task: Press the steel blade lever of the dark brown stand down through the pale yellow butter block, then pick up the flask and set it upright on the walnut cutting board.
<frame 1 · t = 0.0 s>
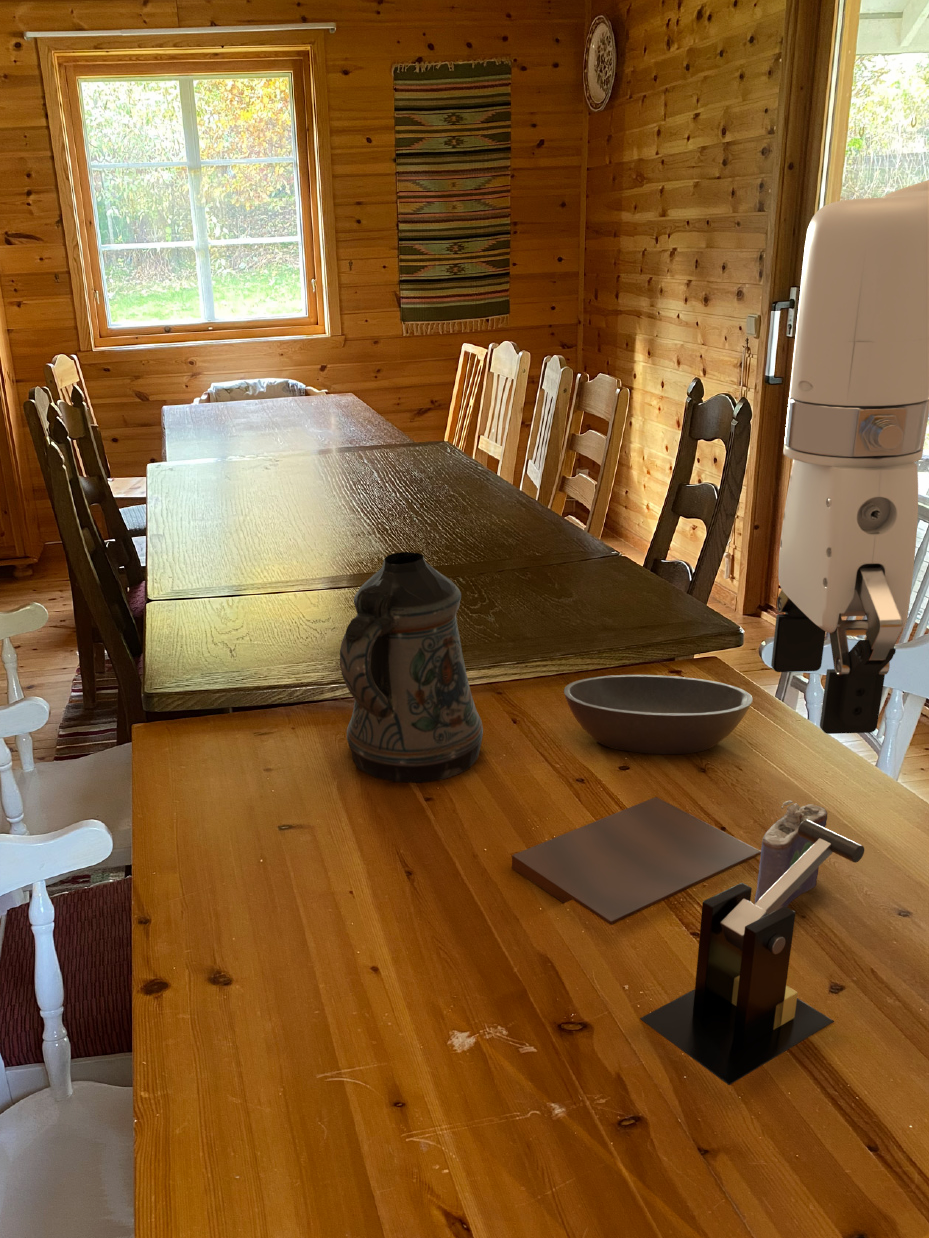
hand: (819, 698, 71), 31 cm above the table, tool pointing down, fingers open, 9 cm apart
flask: (783, 907, 102), on the table
bowl: (653, 742, 135), on the table
cutting board: (634, 866, 110), on the table
butter: (757, 1007, 88), resting on dark brown stand
beer stein: (414, 760, 134), on the table
slicer lever: (786, 885, 84), point 12 cm above the table, hinge at 25.0°
dark brown stand: (734, 1031, 87), on the table
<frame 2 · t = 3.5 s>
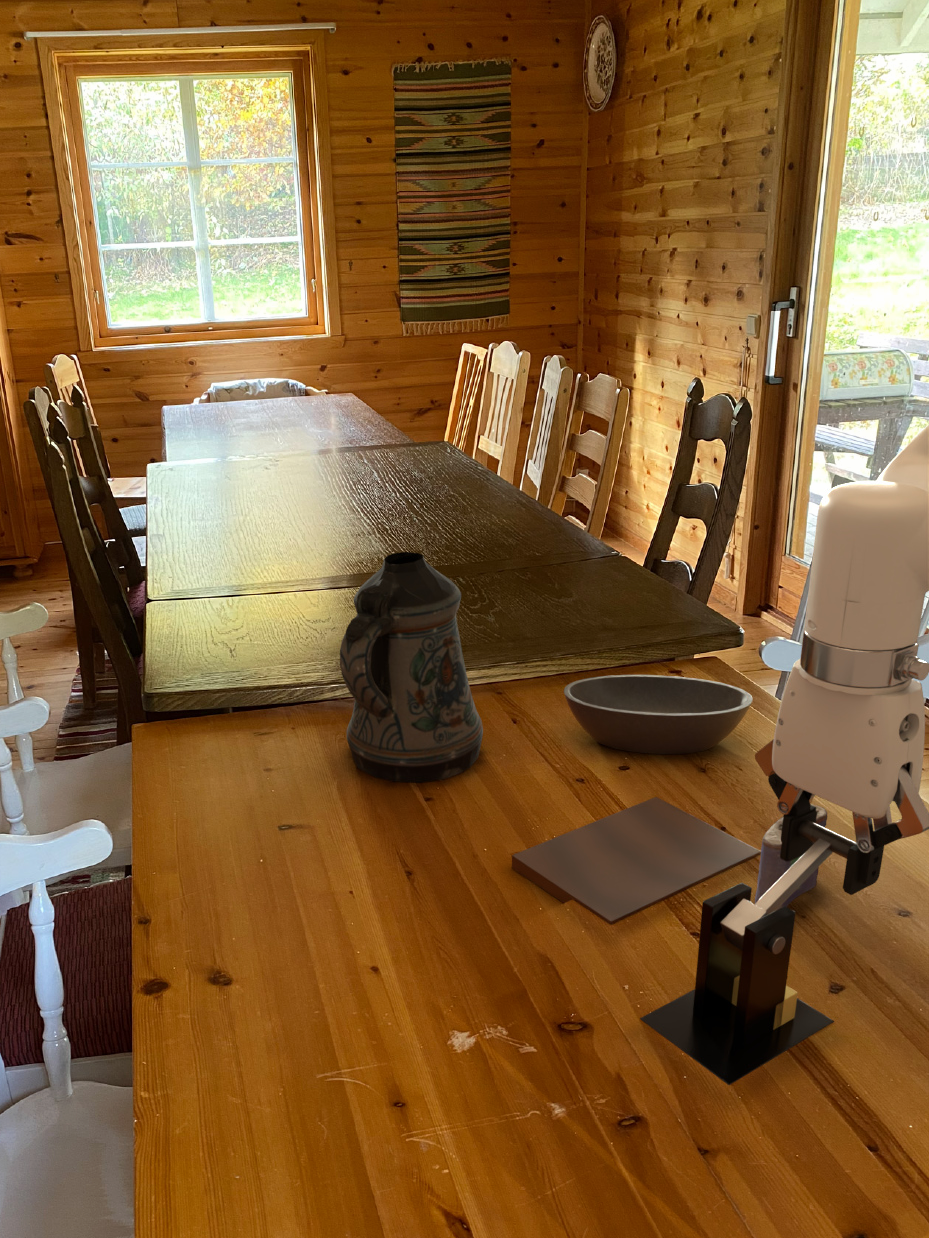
hand: (826, 869, 87), 12 cm above the table, tool pointing down, fingers closed on slicer lever, 5 cm apart
slicer lever: (786, 885, 84), point 12 cm above the table, hinge at 25.0°, touching gripper
everything else where it was.
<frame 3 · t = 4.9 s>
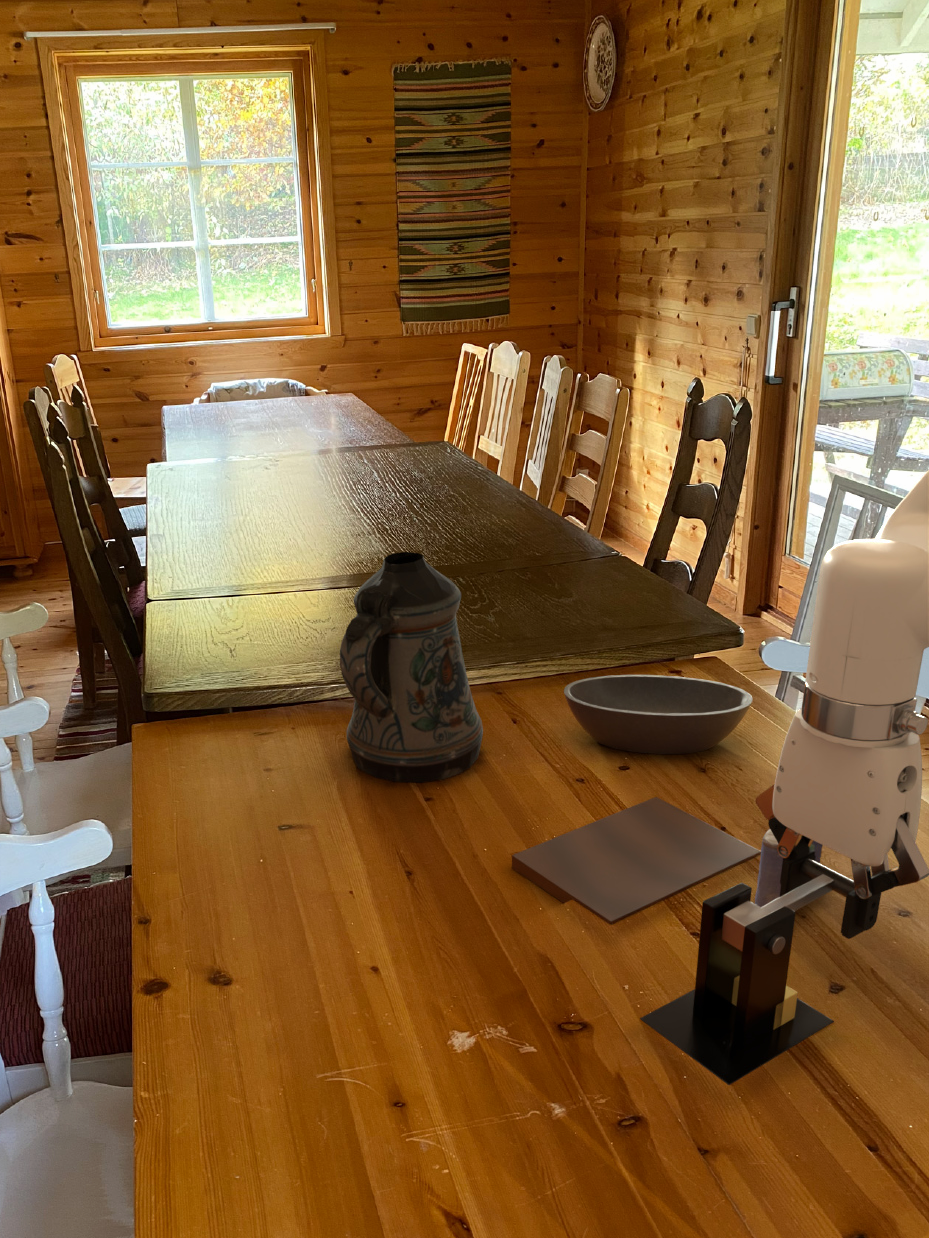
hand: (824, 912, 89), 7 cm above the table, tool pointing down, fingers closed on slicer lever, 5 cm apart
slicer lever: (787, 904, 85), point 10 cm above the table, hinge at 1.5°, touching gripper
everything else where it was.
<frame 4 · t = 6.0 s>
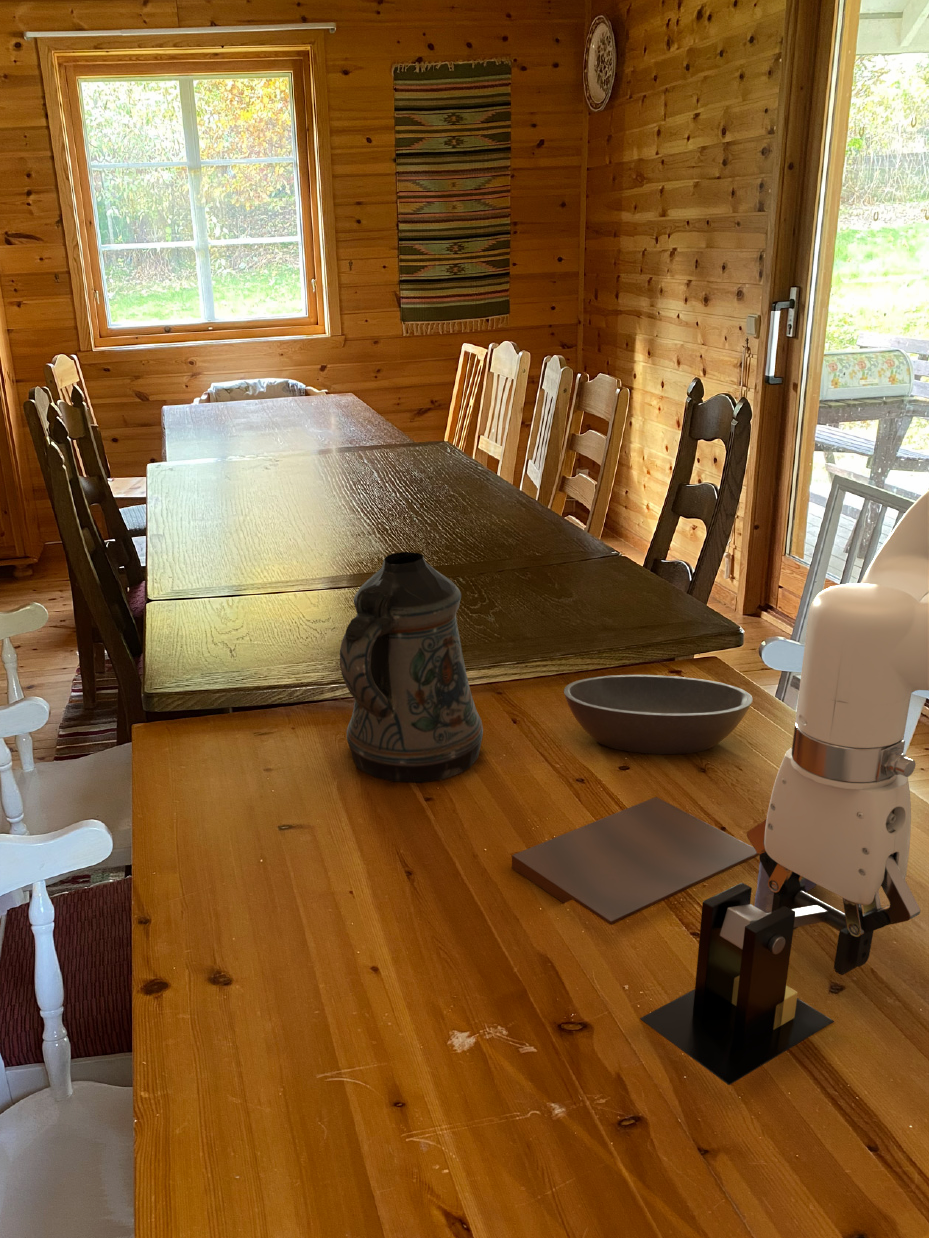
hand: (816, 946, 90), 4 cm above the table, tool pointing down, fingers open, 5 cm apart
slicer lever: (784, 919, 86), point 9 cm above the table, hinge at -15.7°
everything else where it was.
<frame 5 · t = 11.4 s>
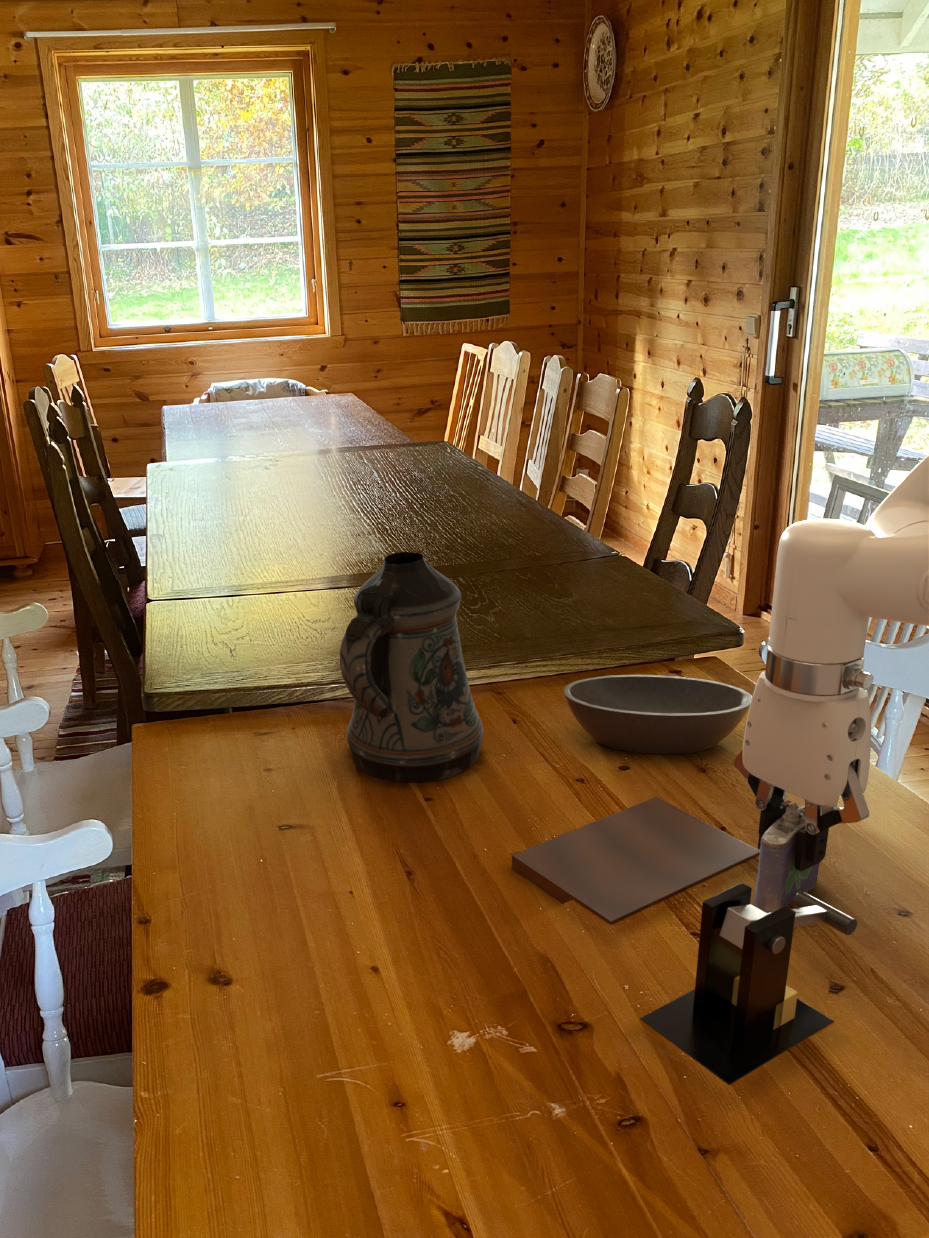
hand: (789, 854, 100), 6 cm above the table, tool pointing down, fingers closed on flask, 3 cm apart
flask: (783, 908, 102), on the table, touching gripper
everything else where it was.
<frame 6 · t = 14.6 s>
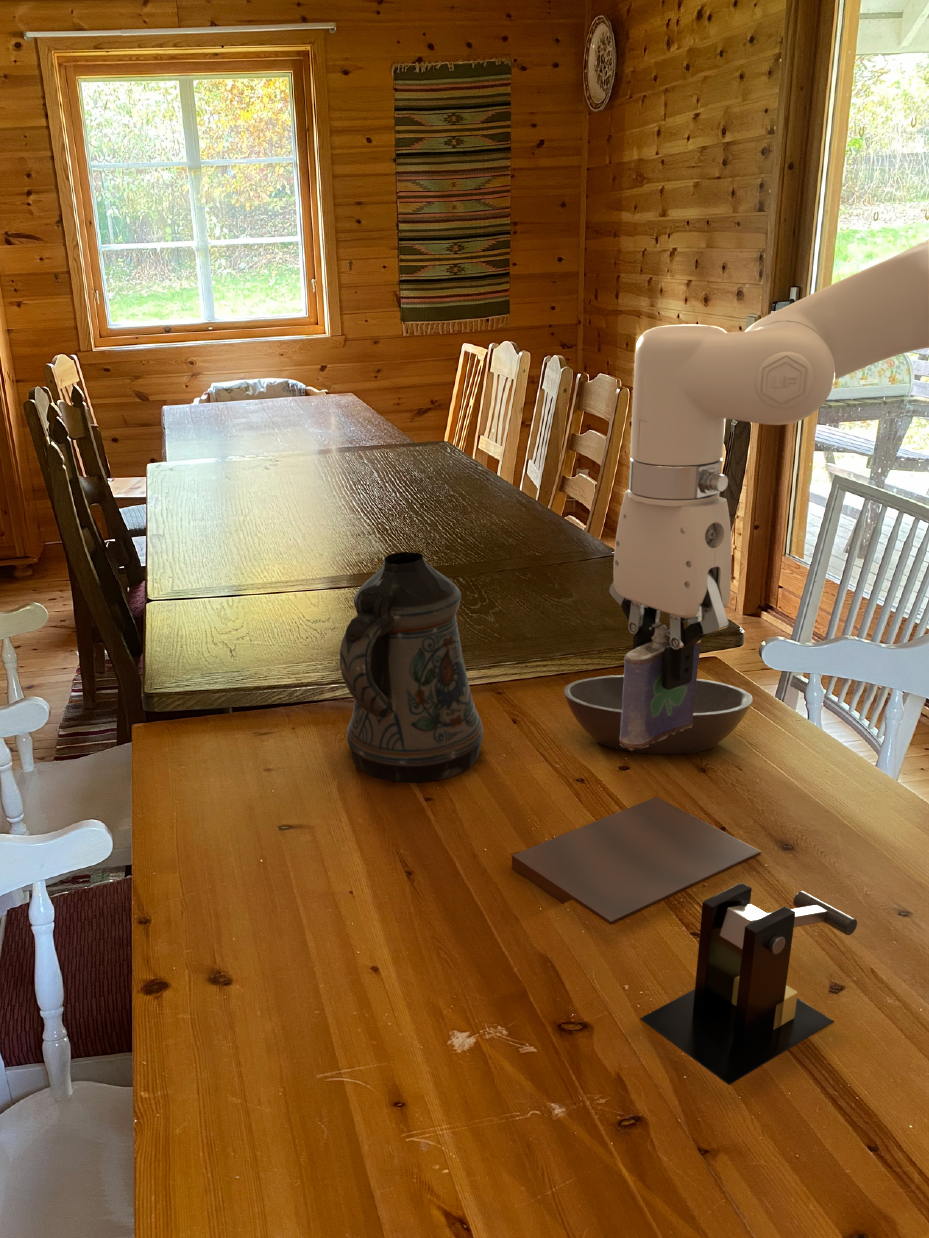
hand: (661, 677, 101), 21 cm above the table, tool pointing down, fingers closed on flask, 3 cm apart
flask: (655, 735, 103), point 15 cm above the table, touching gripper
everything else where it was.
when the fingers open (7 cm above the table, at t = 17.8 s): flask stays where it is, resting on cutting board.
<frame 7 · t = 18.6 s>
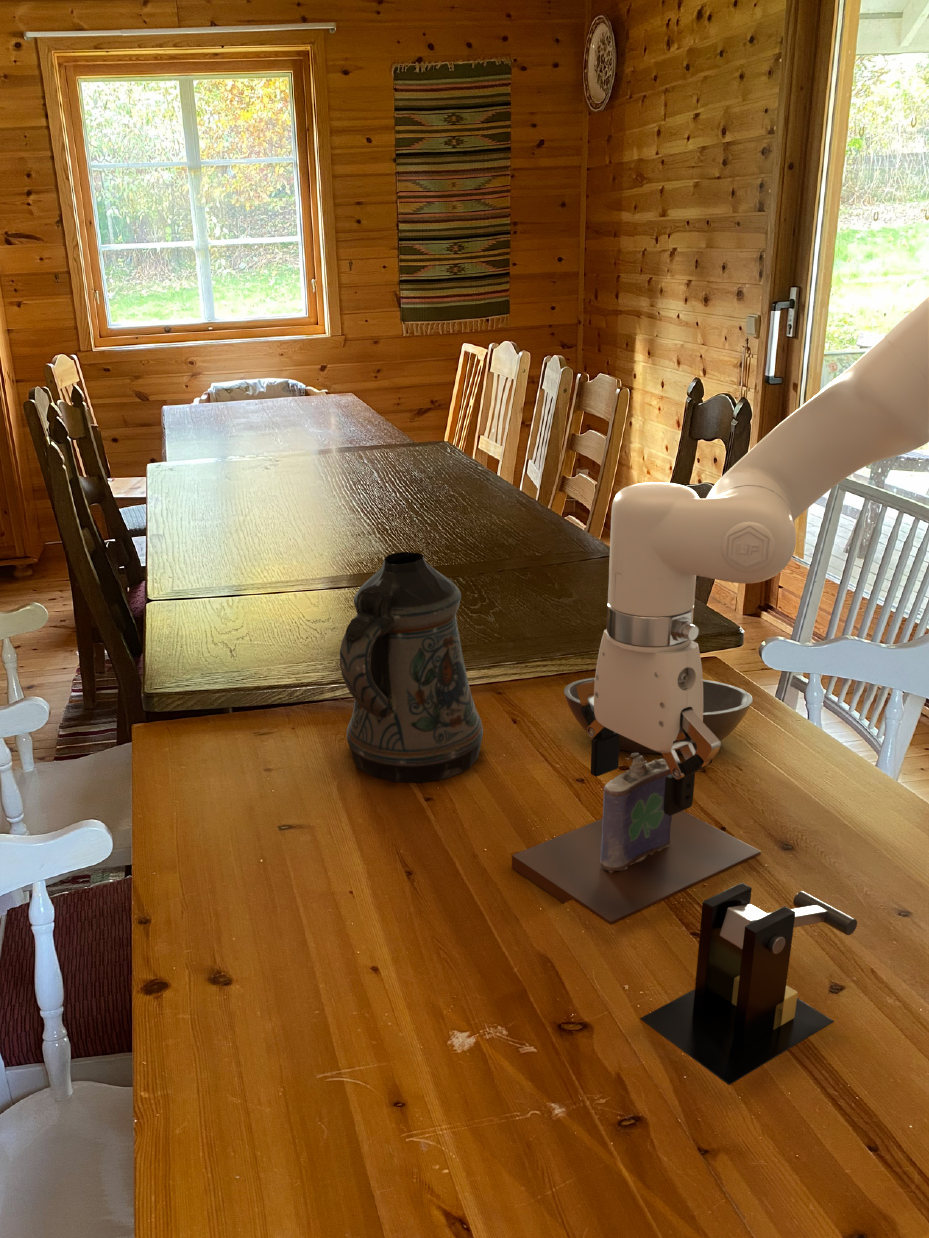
hand: (639, 790, 106), 9 cm above the table, tool pointing down, fingers open, 9 cm apart
flask: (634, 855, 109), point 1 cm above the table, touching cutting board
everything else where it was.
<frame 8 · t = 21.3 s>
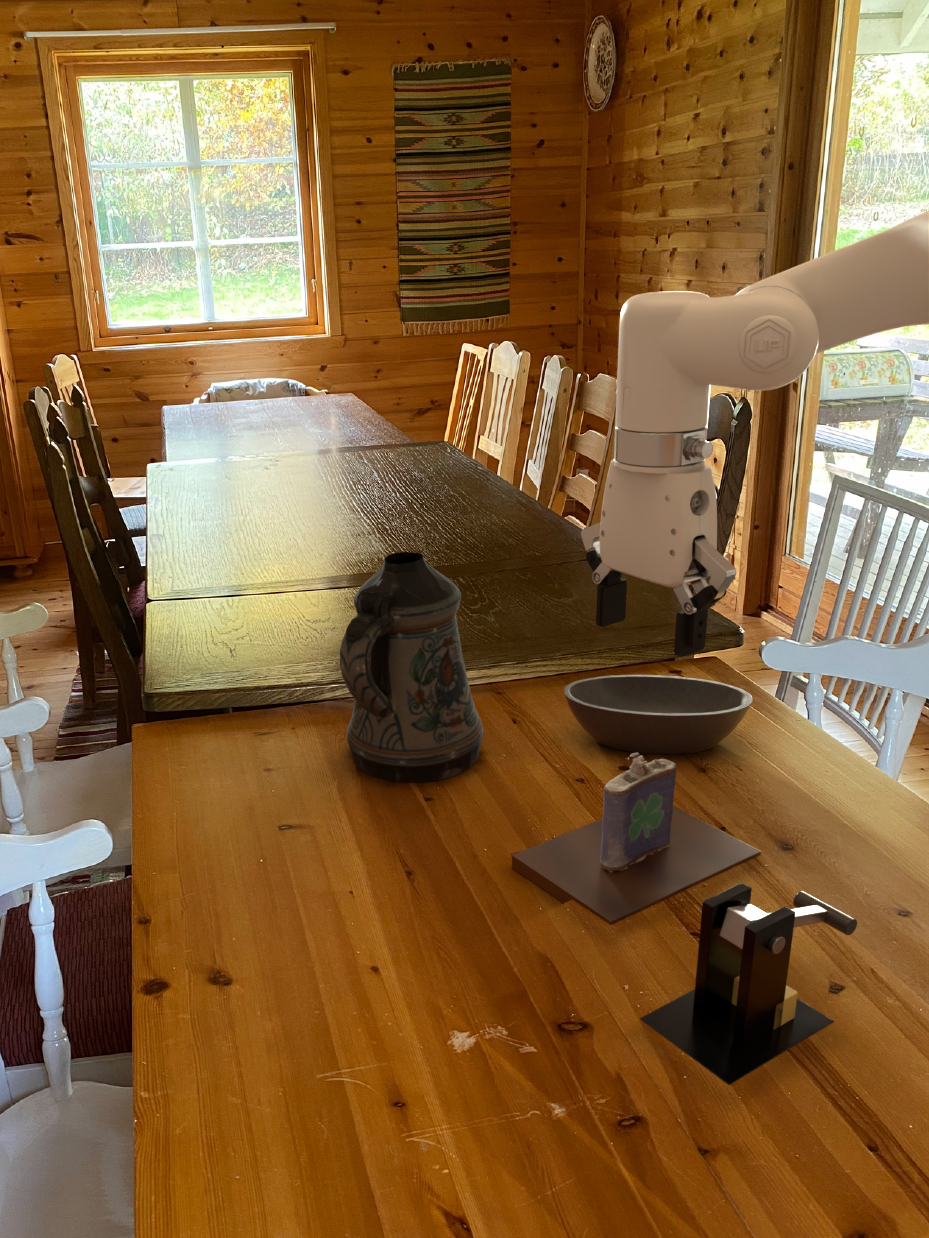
hand: (648, 637, 100), 24 cm above the table, tool pointing down, fingers open, 9 cm apart
nothing on the table moved.
at the end: slicer lever at -16° (first picture: +25°); flask inside the target area on the cutting board (0.2 cm from its centre), point 1.3 cm above the cutting board's base; flask tilted 0° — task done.
